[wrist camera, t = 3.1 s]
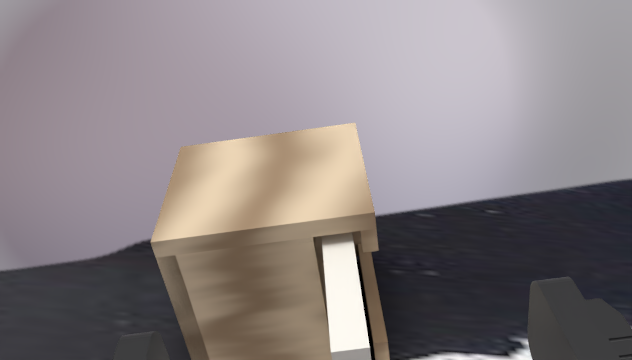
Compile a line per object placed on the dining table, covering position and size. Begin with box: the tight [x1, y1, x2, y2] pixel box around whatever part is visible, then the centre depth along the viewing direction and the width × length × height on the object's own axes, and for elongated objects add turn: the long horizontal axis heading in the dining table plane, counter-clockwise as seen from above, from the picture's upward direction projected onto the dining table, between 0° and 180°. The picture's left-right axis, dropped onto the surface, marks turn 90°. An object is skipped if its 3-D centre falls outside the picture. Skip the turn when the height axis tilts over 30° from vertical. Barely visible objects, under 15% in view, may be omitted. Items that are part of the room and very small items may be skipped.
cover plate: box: [322, 232, 371, 360], centre depth 32 cm, size 2×11×9 cm, turn 2°
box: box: [151, 123, 390, 360], centre depth 37 cm, size 11×10×11 cm
